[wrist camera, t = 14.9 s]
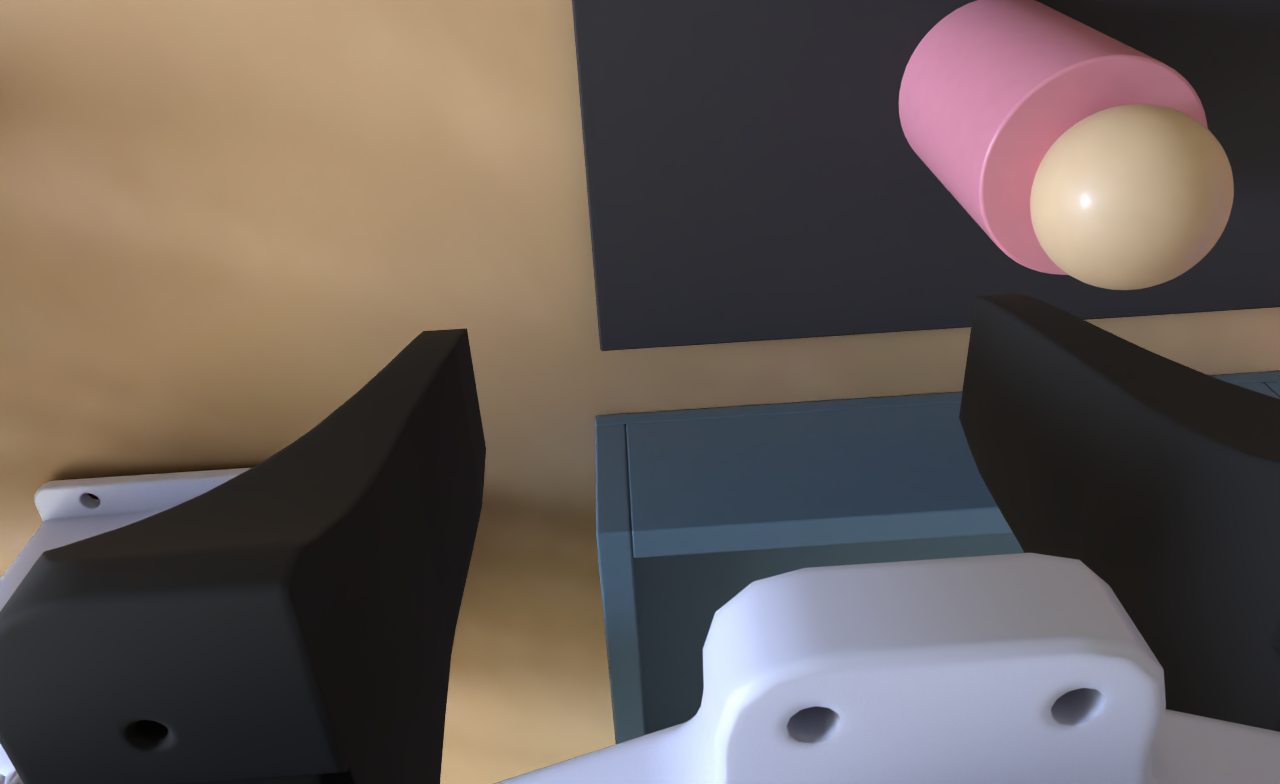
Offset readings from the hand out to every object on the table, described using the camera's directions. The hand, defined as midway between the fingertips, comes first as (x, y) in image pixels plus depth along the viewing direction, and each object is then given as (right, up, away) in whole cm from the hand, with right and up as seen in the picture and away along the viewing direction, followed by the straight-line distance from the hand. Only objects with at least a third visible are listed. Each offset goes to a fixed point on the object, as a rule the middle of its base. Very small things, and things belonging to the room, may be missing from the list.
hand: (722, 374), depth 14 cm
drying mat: (+6, +7, +8) cm, 13 cm away
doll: (+7, +6, +8) cm, 12 cm away
